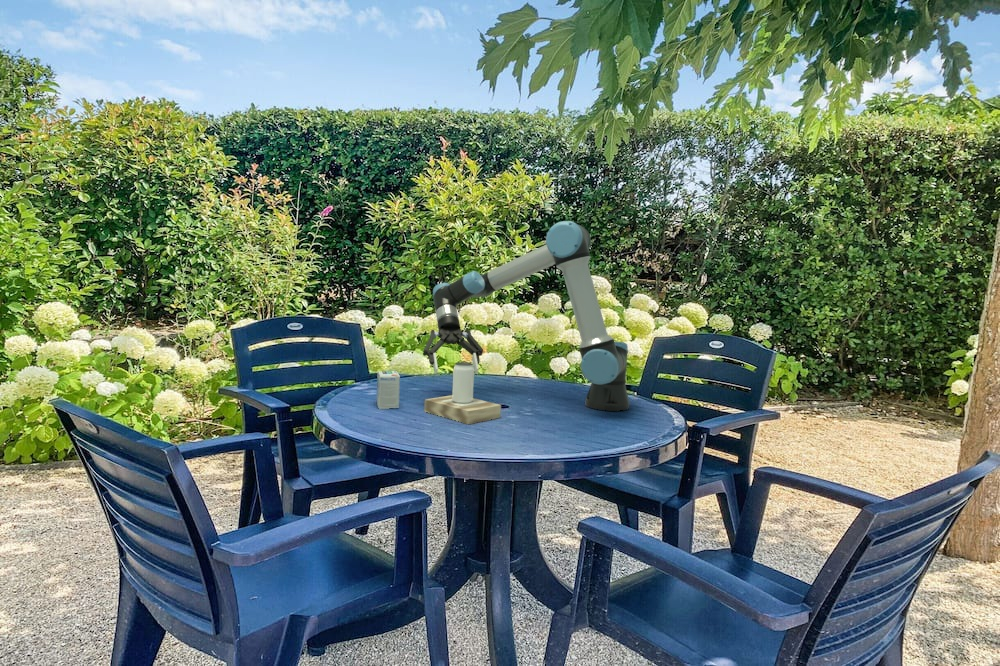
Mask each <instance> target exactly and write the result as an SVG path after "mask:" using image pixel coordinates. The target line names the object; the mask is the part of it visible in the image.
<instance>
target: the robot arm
mask: <svg viewBox="0 0 1000 666" xmlns="http://www.w3.org/2000/svg"><path fill="white" fill-rule="evenodd" d="M591 243H592V241H591V234H590V233H589V230H587V229H586V228H585V227H584V226H583V225H580V224H577V223H575V222H574V221H570V220H563V221H562V220H561V221H558V222H557V223H555V224H554V225H552V226H550V228H549V230H548V231H547V233H546V237H545V245H544V244H543V245H542V246H540V247H538V248H535V249H534V250H532V251H529V252H528V253H525V254H523V255H521V256H518V257H517V258H514V259H513V260H511V261H508V262H506V263H504V264H502V265H500V266H497V267H496V268H494V269H492V270H489V271H487V272H484V273H483V274H480V273H479V272H478V271H477V270H476V271H475V270H473V271H470V272H469V273H465V275H463V276H462V277H460V278H459V279H457V280H456V281H454V282H452V283H449V282H442V283H437V284H436V285H435V286H434V287H433V289H432V300H433V303H434V304H433V305H434V308H435V309H434V310H435V315H436V323H437V328H438V331H435V330H434V329H431V330H430V334H429V338H428V340H427V342H426V345H425V347H424V349H423V352H422V356H424V357H425V356H427V358H428V361H429V364H430V365H432V367H433V374H434V375H437V374H438V372H439V371H438V369H439V366H438V360H437V352H438V350H439V349H440V348H441V347H443V346H444V345H445V344H446V345H451V344H452V345H456V344H457V345H458V346H459V347H462V348H463V349H464V350H465V351H466V352H468V353H469V354H470V355H472V356H471V360H472V361H471V362H472V364H473V368H474V375H475V374H478V372H479V370H480V368H479V363H480V361H481V359H480V357H481V356H482V355H483V352H484V349H483V347H481V345H480V344H479V342H478V341H477V340H476V339H475V337H474V336H473V335H472V332H471V331H470V329H467V330H466V331H462V329H461V323H460V320H459V314H458V308H457V306H458V305H460V304H462V303H463V302H464V301H465V302H466V301H467V300H469V299H470V298H486V297H488V296H491V295H492V294H493V293H495V292H496V291H498V290H501V289H503V288H505V287H507V286H509V285H511V284H515V283H516V282H518V281H520V280H523V279H524V278H527V277H529V276H532V275H534V274H536V273H538V272H540V271H542V270H545V269H547V268H549V267H552V266H554V265H555V267H556V268H557V269H559V270H560V271H561V272H562V275H563V278H564V282H565V285H566V286H565V287H566V290H567V294H568V297H569V300H570V304H571V306H572V310H573V315H574V318H575V322H576V325H577V329H578V332H579V336H580V340H581V342H580V344H579V346H578V350H579V354H580V357H581V360H580V369H581V373H582V375H583V376H584V378H585V380H587V381H588V382H590V383H591V384H590V386H589V389H588V392H587V393H586V394H587V395H586V397H585V407H586V408H587V407H588V408H589V409H590V408H591V409H594V410H597V409H598V411H605V410H606V411H608V412H621V411H620V410H623V411H627V410H629V409H630V399H629V396H628V395H629V394H628V391H627V387H626V381H627V380H626V379H627V367H628V366H627V365H628V354H629V350H628V346H629V345H628V344H627V343H626V342H622V341H615V339H614V338H613V336H611V335H609V334H608V332H607V327H606V325H605V324H606V323H605V321H604V317H603V315H602V314H603V313H602V311H601V306H600V303H599V299H598V296H597V291H596V289H595V285H594V281H593V277H592V275H591V271H590V267H589V261H590V260H591V258H592V257H591V253H590V250H589V249H590V247H591ZM437 337H438V338H439V340H438V341H437V342H436V343H435V345H433V347H432V348H431V346H432V344H433V342H434V339H436V338H437ZM430 348H431V349H430ZM628 408H629V409H628ZM626 409H627V410H626Z"/></svg>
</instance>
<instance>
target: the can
mask: <svg viewBox="0 0 1000 666" xmlns="http://www.w3.org/2000/svg"><path fill="white" fill-rule="evenodd" d="M474 378H475V372H474V366H473V362H455V363H454V367H453V374H452V394H451V395H452V400H453V402H455V403H462V404H466V403H471V402H472V401H473V398H474V380H475V379H474Z"/></svg>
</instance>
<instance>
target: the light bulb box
mask: <svg viewBox="0 0 1000 666" xmlns="http://www.w3.org/2000/svg"><path fill="white" fill-rule="evenodd" d="M376 372H377V373H376V376H377V378H376V404H377V408H379V409H378V410H390V409H389V408H400V388H401V387H400V384H401V383H400V381H401V376H400V374H399V373H398V371H397V370H377V371H376Z"/></svg>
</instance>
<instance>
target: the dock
mask: <svg viewBox="0 0 1000 666" xmlns="http://www.w3.org/2000/svg"><path fill="white" fill-rule="evenodd" d="M423 409H424V411H423V412H424V413H426V412H428V413H427V414H430V413H431V414H430V415H433V414H434V415H433V416H437V415H438V416H437V417H440V416H442V417H441V418H444V417H446V418H445V419H447V418H449V419H448V420H451V419H452V420H451V421H454V420H456V421H455V422H458V421H459V422H458V423H461V422H462V424H465V425H468V424H469V425H473V424H477V422H478V423H481V422H482V421H483V422H486V421H491V419H492V420H496V419H501V414H502V413H501V411H502V405H501V404H498V403H496V402H494V403H493V402H490V401H485V400H482V399H479V398H478V399H477V398H474V397H473V401H472V402H471V403H466V404H462V403H455V402H453V400H452V394H451V395H446V396H439V397H433V398H425V399H424V408H423Z"/></svg>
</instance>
